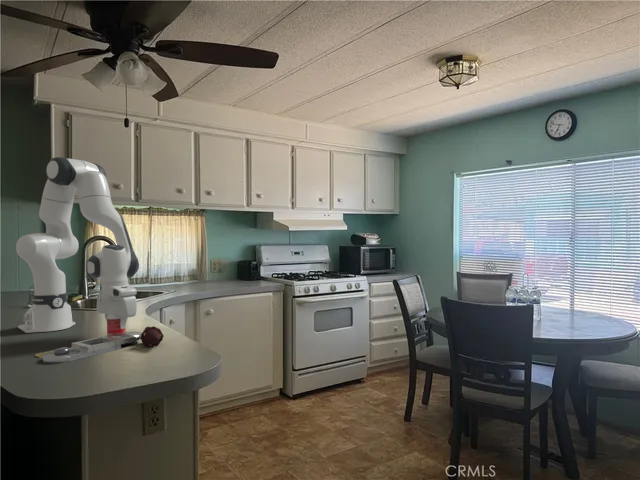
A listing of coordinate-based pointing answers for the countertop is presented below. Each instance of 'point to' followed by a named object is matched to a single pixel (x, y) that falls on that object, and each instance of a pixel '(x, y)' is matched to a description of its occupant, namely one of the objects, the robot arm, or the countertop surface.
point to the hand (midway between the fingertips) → (116, 327)
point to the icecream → (151, 336)
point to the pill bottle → (113, 324)
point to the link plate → (42, 353)
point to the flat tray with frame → (92, 347)
